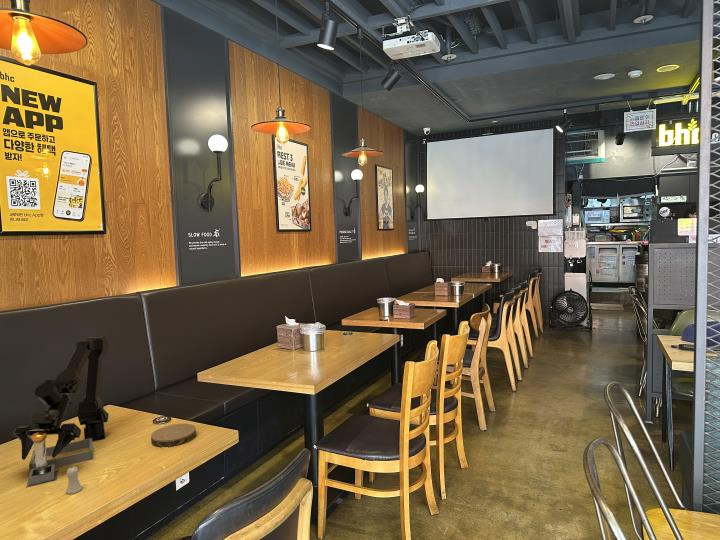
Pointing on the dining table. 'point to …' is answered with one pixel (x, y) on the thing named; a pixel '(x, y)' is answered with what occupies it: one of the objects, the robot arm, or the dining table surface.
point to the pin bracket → (42, 476)
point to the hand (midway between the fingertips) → (38, 458)
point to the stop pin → (40, 452)
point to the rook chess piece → (73, 481)
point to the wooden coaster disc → (173, 435)
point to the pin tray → (69, 458)
